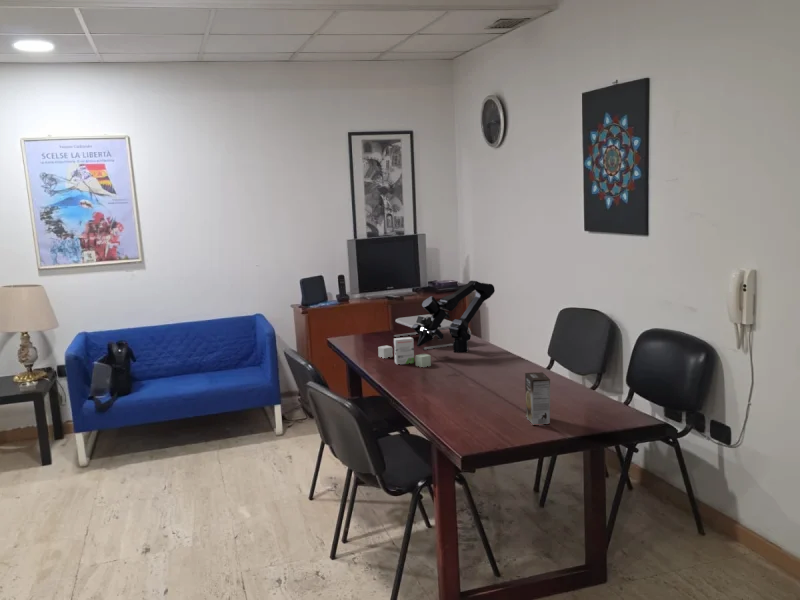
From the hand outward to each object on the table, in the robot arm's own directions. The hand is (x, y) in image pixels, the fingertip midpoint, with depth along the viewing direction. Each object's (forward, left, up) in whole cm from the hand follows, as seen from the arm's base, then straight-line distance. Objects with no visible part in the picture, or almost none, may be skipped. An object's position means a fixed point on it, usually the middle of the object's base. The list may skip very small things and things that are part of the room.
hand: (417, 346), depth 329 cm
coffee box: (-62, +78, -7) cm, 100 cm away
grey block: (+17, -4, -7) cm, 19 cm away
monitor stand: (+4, -43, -7) cm, 44 cm away
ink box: (+5, +6, -7) cm, 11 cm away
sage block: (-5, +10, -7) cm, 13 cm away
